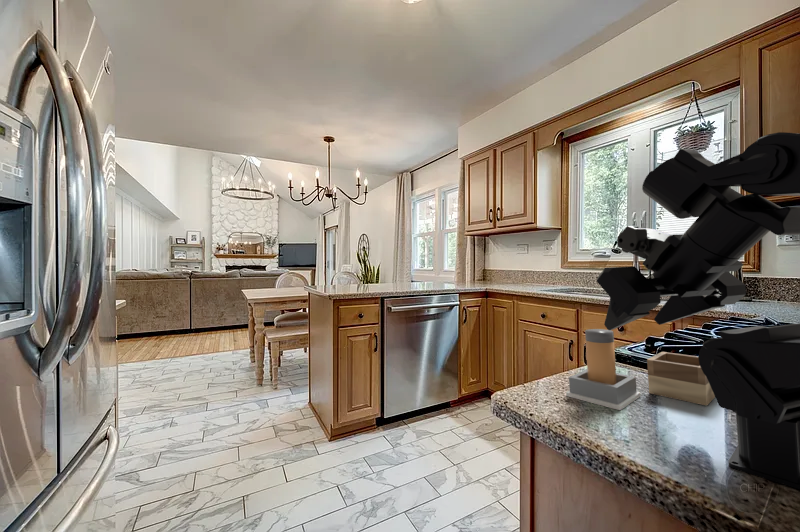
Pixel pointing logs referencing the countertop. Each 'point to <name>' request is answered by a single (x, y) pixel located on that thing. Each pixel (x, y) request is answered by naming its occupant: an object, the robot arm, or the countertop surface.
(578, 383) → the grey bin on base
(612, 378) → the bottle
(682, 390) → the open tan box
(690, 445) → the countertop surface
